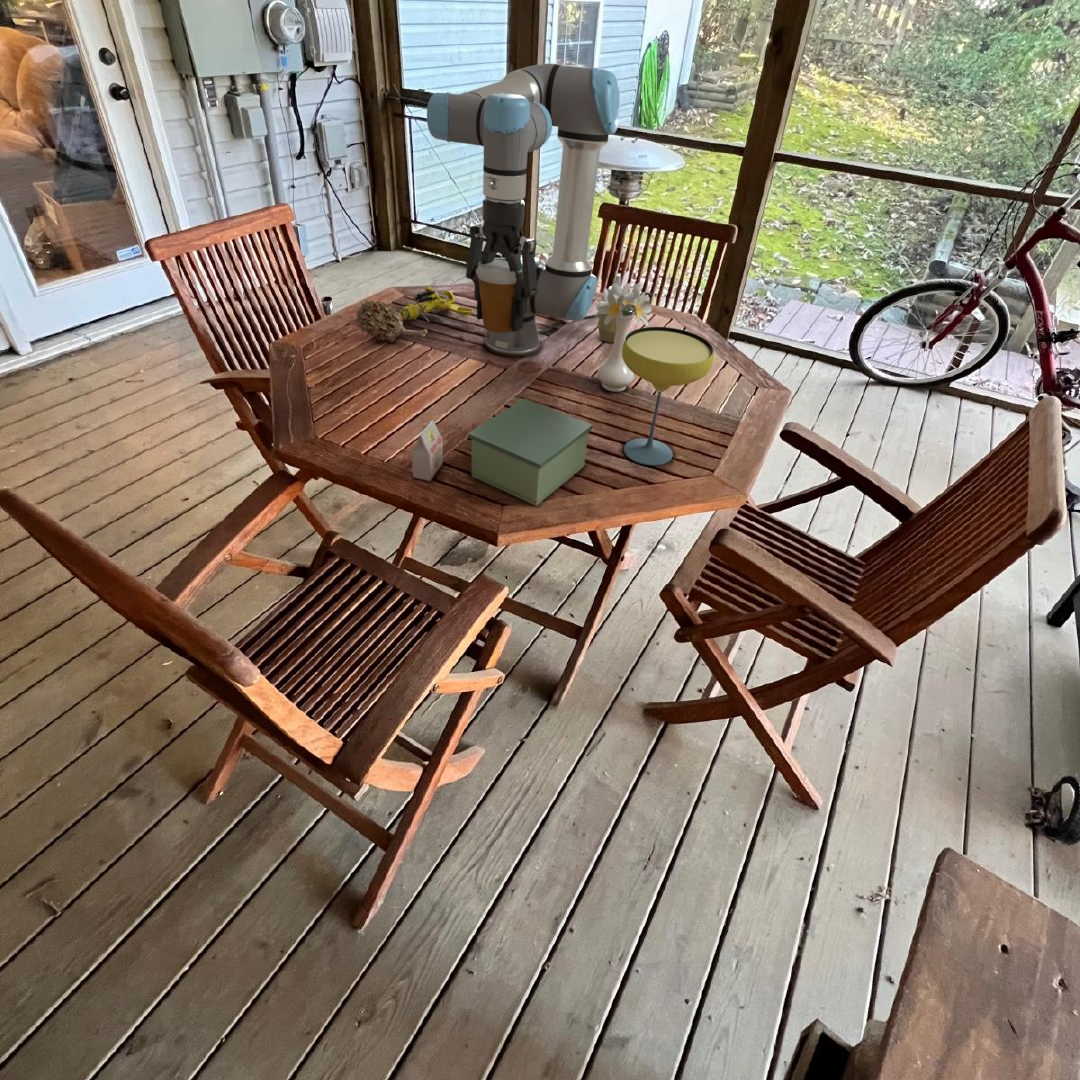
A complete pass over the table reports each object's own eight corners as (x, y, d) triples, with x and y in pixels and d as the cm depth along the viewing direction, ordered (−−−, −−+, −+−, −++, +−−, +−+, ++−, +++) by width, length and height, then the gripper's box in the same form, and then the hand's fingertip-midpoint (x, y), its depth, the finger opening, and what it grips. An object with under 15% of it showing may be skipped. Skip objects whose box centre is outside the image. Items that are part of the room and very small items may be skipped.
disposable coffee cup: (516, 339, 132) (520, 276, 124) (469, 332, 133) (469, 269, 126) (528, 321, 139) (531, 261, 132) (482, 315, 140) (483, 254, 133)
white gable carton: (413, 477, 138) (410, 434, 131) (426, 460, 143) (424, 417, 136) (430, 481, 137) (428, 437, 131) (442, 463, 142) (441, 421, 136)
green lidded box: (521, 438, 152) (524, 398, 145) (587, 466, 145) (592, 424, 139) (467, 476, 139) (467, 433, 133) (536, 508, 132) (540, 464, 126)
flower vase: (640, 373, 181) (657, 277, 166) (635, 405, 167) (652, 304, 151) (591, 366, 183) (603, 270, 167) (582, 397, 168) (594, 296, 153)
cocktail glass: (688, 481, 143) (716, 370, 127) (603, 468, 145) (619, 356, 129) (689, 437, 157) (714, 332, 141) (611, 426, 159) (627, 321, 143)
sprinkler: (382, 288, 196) (435, 272, 207) (384, 314, 201) (435, 296, 212) (427, 312, 187) (479, 293, 199) (428, 338, 192) (478, 318, 204)
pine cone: (349, 340, 185) (345, 303, 179) (368, 327, 192) (364, 292, 186) (423, 356, 180) (421, 320, 174) (439, 343, 187) (438, 307, 181)
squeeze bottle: (628, 338, 199) (638, 275, 187) (615, 347, 193) (625, 282, 182) (604, 330, 202) (612, 268, 190) (590, 339, 196) (598, 275, 185)
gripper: (445, 189, 123) (447, 314, 138) (539, 214, 115) (531, 344, 129) (471, 184, 128) (470, 304, 142) (564, 207, 120) (553, 332, 134)
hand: (499, 323), depth 136 cm, fingers closed on disposable coffee cup, 8 cm apart
